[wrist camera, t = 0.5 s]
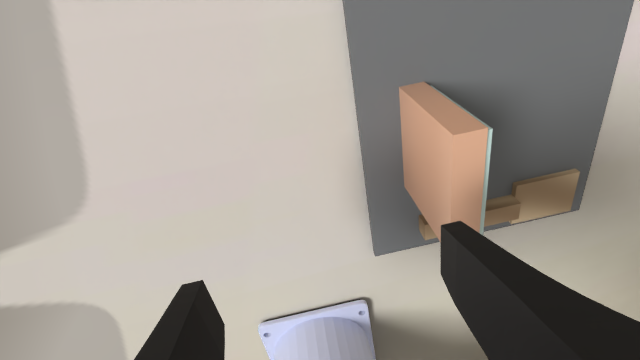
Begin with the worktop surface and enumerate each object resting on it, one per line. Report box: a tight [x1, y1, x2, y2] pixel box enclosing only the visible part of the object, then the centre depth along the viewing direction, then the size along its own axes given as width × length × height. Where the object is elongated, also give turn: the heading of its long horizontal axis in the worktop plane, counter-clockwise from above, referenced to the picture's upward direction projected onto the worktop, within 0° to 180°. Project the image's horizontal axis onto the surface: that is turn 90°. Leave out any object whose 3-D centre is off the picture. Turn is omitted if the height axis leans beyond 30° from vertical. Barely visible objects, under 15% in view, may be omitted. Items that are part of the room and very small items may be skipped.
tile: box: [399, 82, 493, 242], centre depth 17 cm, size 6×2×6 cm, turn 10°
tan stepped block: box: [419, 169, 580, 240], centre depth 23 cm, size 3×10×1 cm, turn 100°
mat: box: [343, 0, 634, 256], centre depth 20 cm, size 16×14×1 cm
